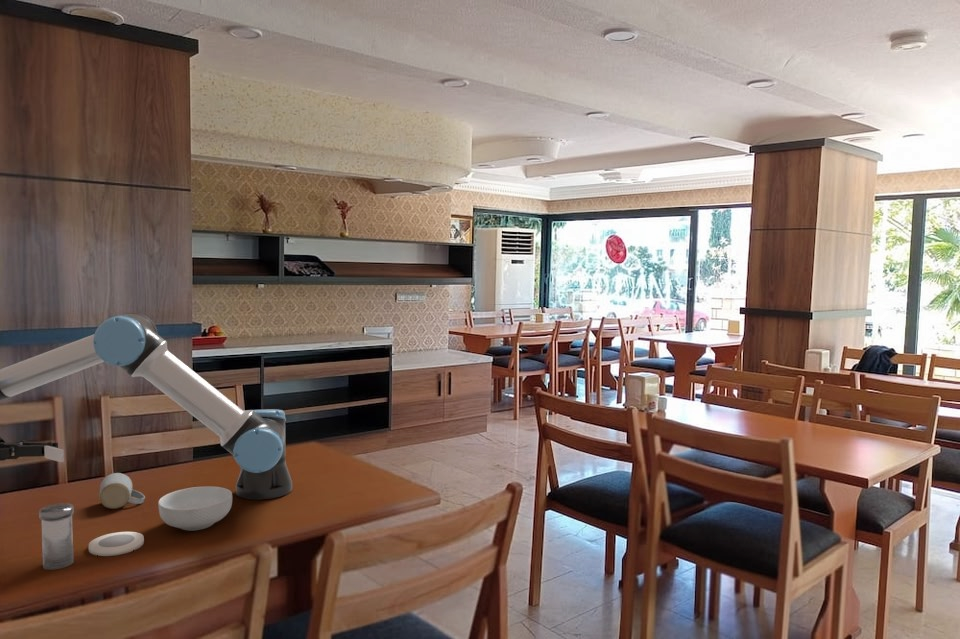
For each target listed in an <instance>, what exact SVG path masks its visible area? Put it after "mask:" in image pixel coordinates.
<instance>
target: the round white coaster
mask: <svg viewBox="0 0 960 639" xmlns="http://www.w3.org/2000/svg"><path fill="white" fill-rule="evenodd" d="M144 543H145V538H144V535H143V534H142V533H140V532H137V531H119V532H112V533H106V534H104V535H101V536H99V537H96V538H94V539H92V540H91V541H90V542H89V543H88V552H89V553H90V554H91V555H94V556H97V555H98V556H99V557H112V556H113V557H115V556H120V555H124V554H128V553H130V552H133V550H134V551H136V550H139V549H140V548H141V547H142V546H143V545H144Z"/></svg>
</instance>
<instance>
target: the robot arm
mask: <svg viewBox="0 0 960 639" xmlns="http://www.w3.org/2000/svg"><path fill="white" fill-rule="evenodd" d="M101 363H107V364H108V365H111V366H115V367H119V368H120V369H121V370H123V371H124V372H126V373H127V374H128V375H129V376H131V377H132V378H138V377H142V378H144V379H145V380H147V381H148V382H149V383H150V384H151V385H153V386H154V387H155V388H156V389H157V390H159V391H160V392H162V393H163V394H164V395H166V396H167V397H168V398H169V399H170V400H172V401H173V402H175V403H176V404H177V405H179V407H181V408H182V409H183V410H185V411H186V412H187V413H189V415H191V416H193V418H195V419H196V420H197V421H199V422H201V424H203V425H204V426H205V427H206V428H208V429H209V430H211V431H212V432H213V433H214V434H215V435H217V437H219V440H220V446H221V447H222V448H223V449H224V450H226V451H227V452H229V453H230V454H231V455H232V456H233V458H234V461H235V462H236V463H237V465H238V467H240V472H239V475H238V478H237V481H236V483H235V495H236V496H237V497H239V498H240V499H245V500H257V501H258V500H269V499H276V498H280V497H283V496H286V495H288V494H289V493H291V492H292V491H293V481H292V478H291V474H290V470H289V469H288V466H287V463H286V422H287V419H286V413H285V411H284V410H283V409H275V408H274V409H273V408H272V409H269V408H268V409H247V410H244V409H242V408H241V407H240V406H238V405H237V404H236V403H235V402H233V401H232V400H231V399H229V397H227V396H226V395H224V394H223V393H222V392H221V391H219V390H218V389H217V388H216V387H215V386H213V385H212V384H210V382H208V381H207V380H206V379H204V378H203V377H202V376H200V374H198V373H197V372H196V371H194V369H192V368H191V367H190V366H188V365H187V364H185V363H184V362H183V361H182V360H181V359H180V358H178V357H176V356H175V354H173V353H172V352H171V351H170V350H169V349H168V341H167V340H165V339H164V338H163V337H162V336H161V335H159V334H158V328H157V326H156V324H155V323H154V322H153V321H152V319H151V318H149V317H148V316H146V315H145V314H141V313H138V312H127V313H124V314H118V315H113V316H110V317H109V318H107V319H106V320H105V321H103V322H102V323H100V325H98V327H97V328H96V330H95V332H94V334H91V335H89V336H86V337H83V338H80V339H78V340H74V341H72V342H70V343H67V344H65V345H62V346H58V347H56V348H54V349H51V350H49V351H46V352H45V351H44V352H43V353H41V354H38V355H35V356H32V357H30V358H27V359H24V360H21V361H19V362H16V363H14V364H11V365H9V366H6V367H2V368H1V369H0V402H2V401H4V400H6V399H9V398H12V397H14V396H17V395H19V394H22V393H25V392H27V391H30V390H33V389H35V388H38V387H41V386H44V385H46V384H49V383H51V382H54V381H56V380H60V379H62V378H64V377H66V376H70V375H72V374H75V373H77V372H80V371H83V370H85V369H88V368H91V367H94V366H97V365H98V364H101ZM64 450H65V449H62V448H59V442H53V441H48V442H47V441H28V440H23V439H22V440H19V441H18V442H16V443H15V442H12V443H8V442H6V441H5V440H4V439H3V437H1V436H0V461H6V460H17V459H19V458H28V457H30V458H31V457H44V459H46V460H47V459H48V460H52V461H55V462H59V463H64V462H65V459H64V457H65V451H64Z"/></svg>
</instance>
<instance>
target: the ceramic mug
mask: <svg viewBox="0 0 960 639" xmlns="http://www.w3.org/2000/svg"><path fill="white" fill-rule="evenodd" d="M99 487H100V488H99V494H98V495H99V501H100V503H101V504H102V505H103V507H104V508H107V509H111V510H115V509H116V510H117V509H120V508H122V507H123V506H125V505H126V504H128V503H130V504H135V505H141V504H143V503H144V502H145V498H146V496H145V495H144V494H143V493H142V492H140V491H138V490H135V489H133V480H132V479H131V478H130V476H128V475H127V474H124V473H121V472H113V473H110V474H108V475H107V476H105V477H103V480H102V481H101V483H100V485H99Z"/></svg>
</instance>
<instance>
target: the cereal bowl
mask: <svg viewBox="0 0 960 639" xmlns="http://www.w3.org/2000/svg"><path fill="white" fill-rule="evenodd" d="M157 504H158V505H157V506H158V514H159V516H160V519H161V520H162V521H163V522H164V524H166V525H168V526H170V527H173V528H177V529H181V530H183V531H189V532H190V531H201V530H204V529H207V528H210V527H211V526H213V525H214V524H215V523H217V522H220V521H221V520H222V519H224V518H225V517H226V516H227V515H228V514H229V512H230V510H231V509H232V505H233V492H232V491H231V490H230V489H228V488H226V487H222V486H211V485H210V486H208V485H207V486H205V485H204V486H196V487H195V486H194V487H193V486H192V487H188V488H183V489H179V490H175V491H172V492H169V493H167V494H165V495H163V496H162V497H160V499H158V502H157Z"/></svg>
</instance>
